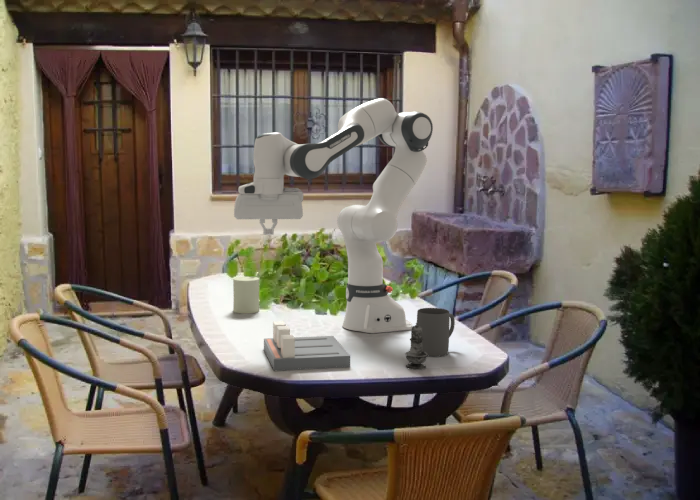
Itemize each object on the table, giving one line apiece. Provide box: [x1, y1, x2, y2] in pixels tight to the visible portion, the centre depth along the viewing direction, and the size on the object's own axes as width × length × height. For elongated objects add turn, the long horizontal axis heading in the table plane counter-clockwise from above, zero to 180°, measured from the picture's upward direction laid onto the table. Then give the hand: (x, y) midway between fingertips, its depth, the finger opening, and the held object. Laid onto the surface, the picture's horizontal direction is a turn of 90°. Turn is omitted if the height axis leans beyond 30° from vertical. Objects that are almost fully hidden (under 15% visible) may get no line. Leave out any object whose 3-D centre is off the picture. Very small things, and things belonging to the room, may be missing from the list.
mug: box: [416, 307, 456, 358], centre depth 212 cm, size 14×9×12 cm
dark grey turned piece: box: [404, 322, 428, 371], centre depth 196 cm, size 6×6×12 cm
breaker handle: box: [277, 325, 291, 348], centre depth 202 cm, size 3×4×5 cm
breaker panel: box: [263, 320, 351, 371], centre depth 204 cm, size 20×22×8 cm
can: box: [232, 276, 260, 315], centre depth 263 cm, size 9×9×12 cm
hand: (268, 234), depth 223 cm, fingers closed
